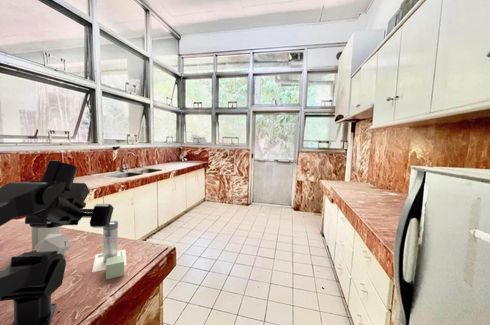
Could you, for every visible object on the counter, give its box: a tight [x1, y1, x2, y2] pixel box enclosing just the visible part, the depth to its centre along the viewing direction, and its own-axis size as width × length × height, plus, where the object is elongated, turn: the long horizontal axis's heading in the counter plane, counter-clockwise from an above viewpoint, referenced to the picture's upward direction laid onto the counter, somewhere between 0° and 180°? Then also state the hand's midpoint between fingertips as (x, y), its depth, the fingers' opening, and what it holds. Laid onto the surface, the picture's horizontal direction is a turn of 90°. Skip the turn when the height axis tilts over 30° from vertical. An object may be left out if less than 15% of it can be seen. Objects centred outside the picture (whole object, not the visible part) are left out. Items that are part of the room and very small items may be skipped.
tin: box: [102, 220, 119, 263], centre depth 70 cm, size 4×4×12 cm
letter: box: [91, 249, 127, 274], centre depth 71 cm, size 12×9×1 cm
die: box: [34, 233, 72, 255], centre depth 71 cm, size 8×9×10 cm
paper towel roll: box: [31, 226, 62, 251], centre depth 76 cm, size 7×6×21 cm
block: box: [105, 255, 125, 280], centre depth 63 cm, size 4×4×4 cm
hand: (88, 221), depth 66 cm, fingers open, 9 cm apart
